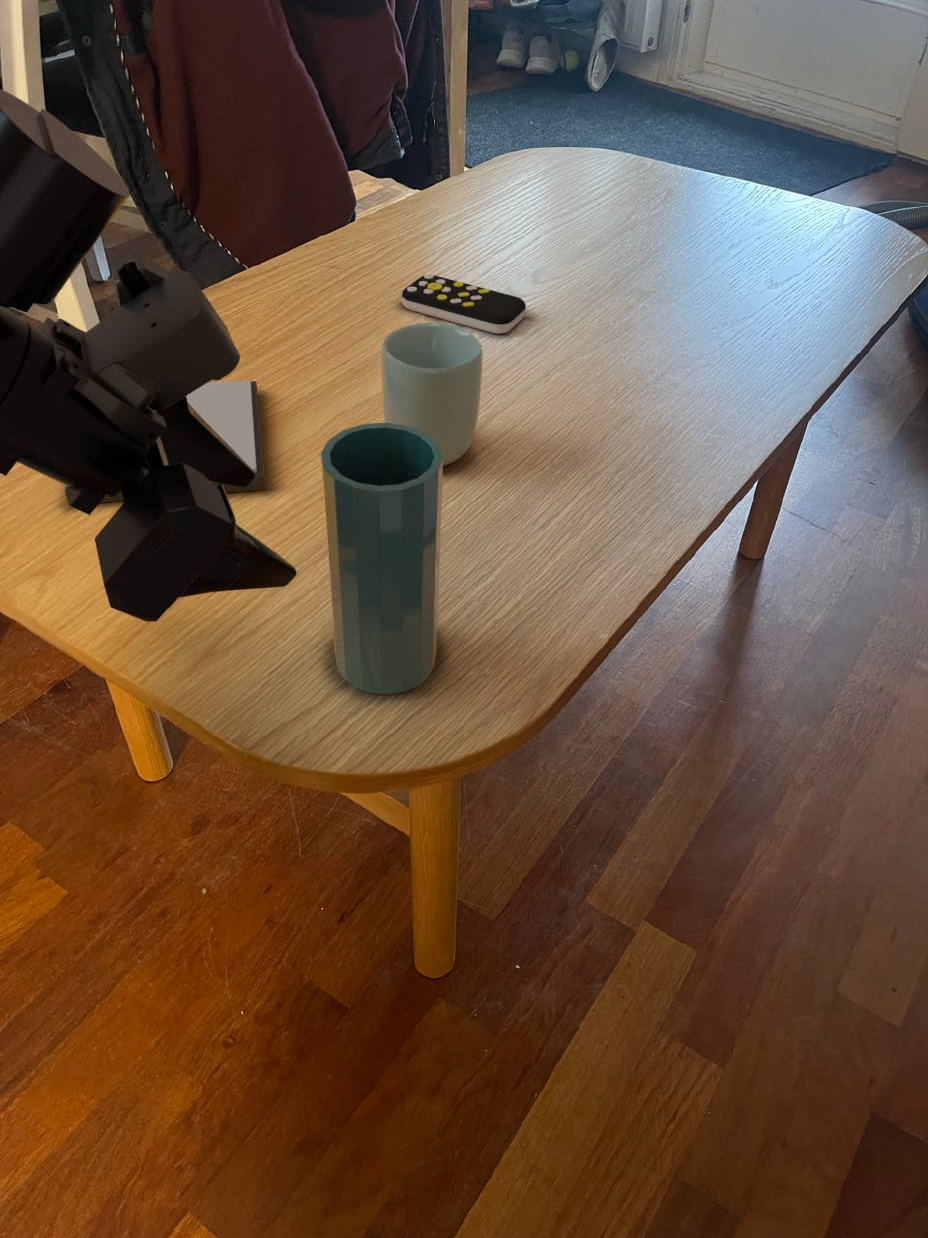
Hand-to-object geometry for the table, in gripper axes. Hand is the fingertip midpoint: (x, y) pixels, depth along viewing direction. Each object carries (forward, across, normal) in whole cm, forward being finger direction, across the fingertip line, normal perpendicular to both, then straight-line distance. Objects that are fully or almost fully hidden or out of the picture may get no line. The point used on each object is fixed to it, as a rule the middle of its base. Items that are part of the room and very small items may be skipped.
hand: (269, 526), depth 52 cm
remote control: (+31, +46, -12) cm, 57 cm away
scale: (+7, +30, +11) cm, 32 cm away
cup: (+22, +22, -3) cm, 31 cm away
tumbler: (+14, 0, +4) cm, 14 cm away
